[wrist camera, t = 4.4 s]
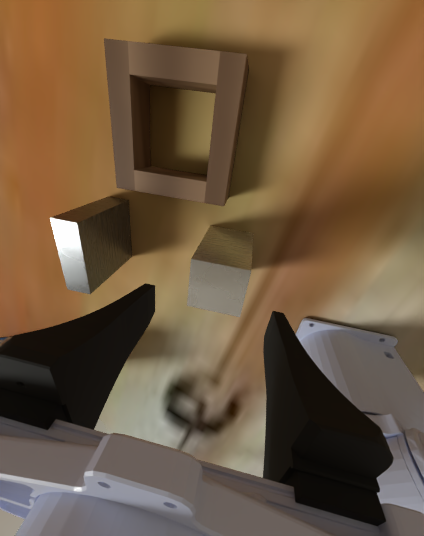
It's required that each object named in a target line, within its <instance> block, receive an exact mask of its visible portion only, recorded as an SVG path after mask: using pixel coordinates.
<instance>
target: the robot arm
mask: <svg viewBox="0 0 424 536" xmlns="http://www.w3.org/2000/svg"><path fill="white" fill-rule="evenodd" d="M154 312H155V285H150V284H144V285H142V286H140V287H139V288H137V289H136V290H134V291H132V292H131V293H129V294H127V295H125V296H124V297H122V298H120V299H119V300H117V301H115V302H113V303H111V304H109V305H107V306H105V307H103V308H101V309H99V310H97V311H95V312H92V313H90V314H88V315H85V316H83V317H80V318H77V319H74V320H72V321H69V322H66V323H63V324H59V325H56V326H53V327H49V328H45V329H41V330H37V331H33V332H28V333H23V334H19V335H14V336H13V337H12V338H10V339H9V340H8V341H6V342H5V343H4V344H3V345H1V346H0V509H1V510H3V511H6V512H8V513H10V514H13V515H15V516H18V517H20V518H23V519H25V520H24V521H23V523H22V525H21V526H20V528H19V529H18V531H17V533H16V534H15V536H424V392H423V390H422V389H421V387H420V386H419V384H418V383H417V381H416V380H415V378H414V377H413V375H412V374H411V372H410V371H409V369H408V368H407V366H406V365H405V363H404V361H403V360H402V358H401V357H400V355H399V354H398V352H397V351H396V349H395V348H394V347H395V346H396V344H397V343H398V340H397V339H396V338H395V337H394V336H389V335H384V334H380V333H375V332H370V331H365V330H361V329H356V328H351V327H347V326H342V325H337V324H332V323H328V322H323V321H318V320H314V319H309V318H305V319H303V320H302V321H301V323H300V326H299V328H298V330H297V332H296V335H295V333H294V331H293V329H292V328H291V326H290V324H289V322H288V320H287V319H286V317H285V315H284V313H280V312H276V311H273V312H272V315H271V318H270V321H269V324H268V326H267V329H266V332H265V335H264V366H265V379H266V394H267V402H266V436H265V456H264V471H263V478H261V477H257V476H254V475H250V474H247V473H243V472H240V471H236V470H233V469H229V468H226V467H222V466H219V465H215V464H212V463H208V462H205V461H201V460H198V459H196V458H195V457H193V456H192V455H190V454H188V453H185V452H183V451H181V450H177V449H174V448H170V447H167V446H163V445H160V444H156V443H153V442H149V441H146V440H142V439H139V438H135V437H132V436H128V435H124V434H118V433H112V434H106V433H103V432H99V431H96V430H94V428H95V426H96V423H97V421H98V419H99V416H100V414H101V412H102V410H103V407H104V405H105V403H106V401H107V399H108V396H109V394H110V392H111V390H112V388H113V386H114V384H115V382H116V380H117V378H118V376H119V374H120V372H121V370H122V368H123V366H124V364H125V362H126V360H127V358H128V357H129V355H130V353H131V352H132V350H133V349H134V347H135V346H136V344H137V343H138V341H139V339H140V338H141V336H142V335H143V333H144V332H145V330H146V328H147V327H148V325H149V323H150V321H151V319H152V317H153V315H154ZM311 323H313V324H311ZM381 338H382V339H381Z"/></svg>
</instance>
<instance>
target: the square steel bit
mask: <svg viewBox="0 0 424 536" xmlns="http://www.w3.org/2000/svg"><path fill="white" fill-rule="evenodd" d="M252 249H253V233H250V232H244V231H239V230H233V229H228V228H222V227H217V226H211V225H210V227H209V229H208V231H207V232H206V234H205V236H204V238H203V239H202V241H201V243H200V245H199V246H198V248H197V250H196V251H195V253H194V255H193V257H192V258H191V267H190V278H189V290H188V301H187V306H191V307H196V308H200V309H205V310H210V311H214V312H219V313H223V314H228V315H232V316H237V317H240V314H241V310H242V306H243V302H244V298H245V294H246V290H247V286H248V282H249V278H250V274H251V268H252Z"/></svg>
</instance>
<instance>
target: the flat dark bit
mask: <svg viewBox="0 0 424 536" xmlns="http://www.w3.org/2000/svg"><path fill="white" fill-rule="evenodd" d="M50 220H51V225H52V229H53V233H54V237H55V241H56V245H57V249H58V253H59V257H60V261H61V265H62V269H63V273H64V277H65V281H66V285H67V289H69V290H73V291H78V292H82V293H87V294H91V293H92V292H93V291H94V290H96V289H97V288H98V287H99V286H100V285H101V284H102V283H103V282H104V281H105V280H107V279H108V278H109V277H110V276H111V275H112V274H113V273H114V272H115V271H117V270H118V269H119V268H120V267H121V266H122V265H123V264H124V263H125V262H127V261H128V260H129V259H130V258H131V257H132V246H131V230H130V215H129V200H125V199H120V198H114V197H106V198H103V199H101V200H98V201H95V202H92V203H89V204H87V205H84V206H81V207H78V208H76V209H73V210H70V211H67V212H65V213H62V214H59V215H56V216H54V217H51V218H50Z"/></svg>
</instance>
